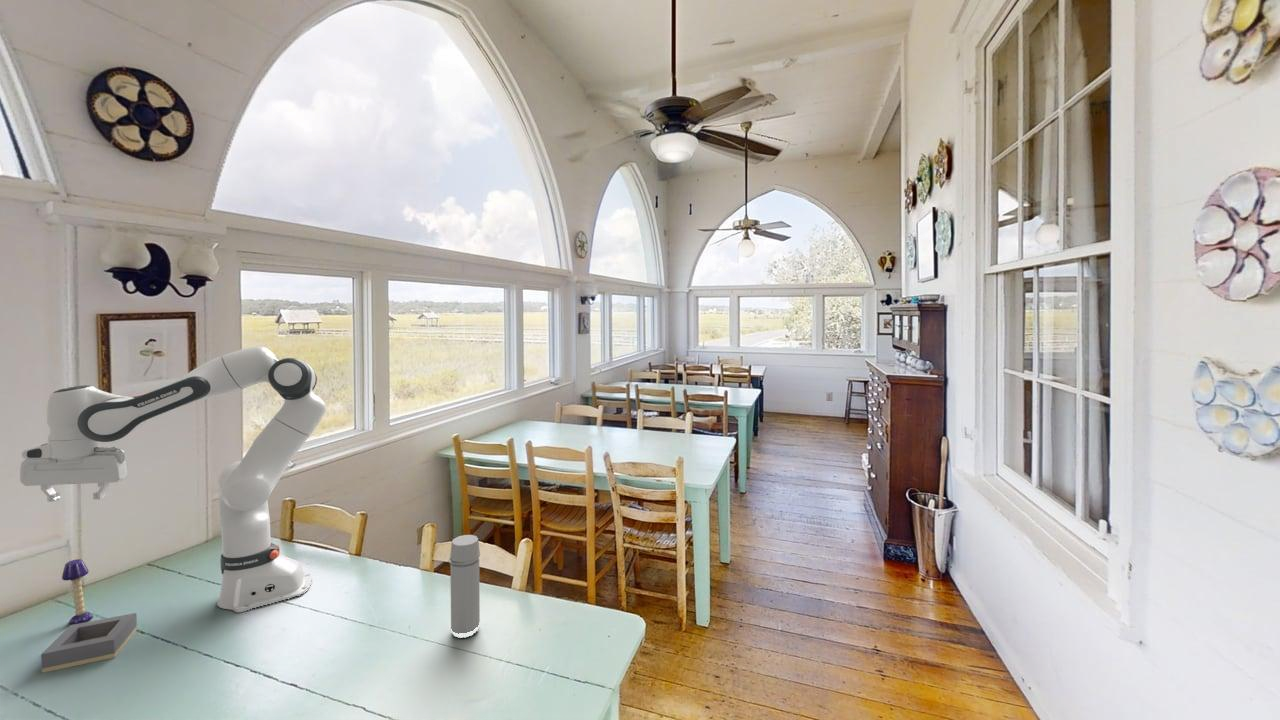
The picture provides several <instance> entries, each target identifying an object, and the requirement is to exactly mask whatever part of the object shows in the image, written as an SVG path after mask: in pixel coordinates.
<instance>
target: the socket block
mask: <svg viewBox="0 0 1280 720" xmlns="http://www.w3.org/2000/svg"><path fill="white" fill-rule="evenodd" d="M137 622H138V621H137V612H133V613H128V614H122V615H118V616H117V615H116V616H112V617H108V618H107V617H106V618H101V619H96V620H90V621H88V622H84V623H79V624H74V625H69V626H68V627H67V628H65V630H64V631H63V632H62V633H60V635H59V636H58V637H57V638H56V639H55V640H54V641H53V642H52V643H51V644H50V645H49V646H48V647H46V649H45V650H44V651H43V652H42V653H41V654H40V655H41V657H40V659H41V671H42V672H41V673H48V672H53V671H54V672H55V671H58V670H63V669H67V668H71V667H77V666H81V665H85V664H90V663H95V662H99V661H106V660H109V659H113V658H115V657H117V656H118V654H119V653H120V651H121V650H122V649H123V648H124V647H125V645H126V644H127V643H128V641H130V640H131V638H132V637H133V635H134V633H136V631H137V630H138V625H137V624H138V623H137Z"/></svg>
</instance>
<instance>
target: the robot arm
mask: <svg viewBox="0 0 1280 720" xmlns="http://www.w3.org/2000/svg"><path fill="white" fill-rule="evenodd" d="M317 379H318V378H317V375H316V372H315V371H314V368H312V367H311V365H310V364H308V363H307V362H305V361H303V360H302V359H299V358H296V357H286V358H285V357H284V358H281V359H278V358H277V356H276V355H275V353H274V352H272V351H271V350H270V349H269V348H267V347H265V346H261V345H257V346H256V345H255V346H252V347H247V348H242V349H238V350H235V351H231V352H229V353H226V354H222V355H220V356H218V357H214V358H212V359H211V360H208V361H205V362H204V363H201V364H200V365H199V366H197V367H195V368H194V369H193V370H191V371H189V372H188V373H186V374H185V375H183V376H182V377H180V378H178V379H177V380H175V381H173V382H171V383H170V384H167V385H165V386H163V387H162V386H161V387H160V388H158V389H155V390H153V391H152V390H151V391H150V392H146V393H144V394H141V395H139V396H135V397H131V396H126V395H121V394H115V393H111V392H109V391H108V392H107V391H105V390H101V389H99V388H97V387H96V386H93V385H89V384H88V385H86V384H85V385H76V386H70V387H66V388H61V389H58V390H55V391H54V392H52V393H50V395H49V396H48V402H47V406H46V407H47V408H46V410H47V411H46V422H47V426H48V427H49V434H48V436H47V443H44V444H41V445H38V446H35V447H31V448H27V449H25V450H23V451H22V452H21V457H22V458H23V461H22V462H21V463H20V469H19V470H20V472H19V479H20V483H21V484H22V485H23V486H25V487H31V486H32V487H34V486H35V487H36V486H40V490H41V491H42V492H43V493H44V495H45V496H46V497H47V498H46V499H47V502H48V503H50V502H57V501H60V499H61V493H60V492H56V490H55V489H54V487H55V486H57V485H59V486H60V485H81V484H83V485H84V484H85V485H86V484H97V488H99V489H98V491H96V492H94V493H92V495H93V497H92V499H93V500H95V501H96V500H103V499H105V497H106V491H107V490H108V489H109V487H110V486H111V484H112V483H113V484H114V483H117V482H121V481H123V480H125V479H126V478H127V477H128V467H127V462H126V452H125V451H124V450H123V449H121V448H119V447H117V446H111V447H108V446H107V447H106V446H105V447H101V444H100V443H108V442H109V443H110V442H115V441H118V440H121V439H122V438H125V437H126V436H127V435H129V433H131V432H133V431H134V430H136V429H138V428H139V427H140V426H141V427H142V425H143V424H144V423H145V422H146V421H147V420H150V419H152V418H155V417H157V416H159V415H163V414H165V413H167V412H170V411H172V410H174V409H178V408H180V407H182V406H185V405H189V404H192V403H197V402H201V401H206V400H210V399H216V398H219V397H223V396H227V395H230V394H231V395H232V394H233V393H236V392H239V391H242V390H244V389H247V388H249V387H251V386H255V385H257V384H261V383H268V384H270V386H271V387H272V388H273V390H275V392H277V393H278V394H279V396H280V397H282V399H283V400H284V402H283V405H282V406H281V408H280V409H279V410H278V411H277V413H276V414H275V415H274V416H273V417H272V419H271V420H270V421H269V422H268V423H267V425H265V427H264V428H263V429H262V431H260V433H259V434H258V435H257V437H255V438H254V439H253V442H252V444H251V446H250V447H249V449H248V450H247V452H246V454H245V455H244V457H243V458H242V459H241V460H237V461H233V462H231V463H230V464H229V465H227V466H226V467H225V468H224V469H223V470H221V473H220V474H219V476H218V478H217V485H218V486H217V489H218V501H219V517H220V528H221V545H222V546H221V547H222V549H221V550H222V553H221V554H220V558H219V563H220V565H219V567H220V571H221V572H220V573H221V575H222V577H221V587H220V592H219V597H218V599H217V602H216V605H217V607H219V609H220V608H221V609H225V610H231V611H233V612H235V613H243V612H247V610H248V611H251V610H253V609H252V608H255V609H257V608H256V607H259V606H262V607H264V606H263V605H266V604H270V605H272V604H271V603H273V604H275V603H274V602H277V603H279V602H278V601H281V600H284V601H286V600H285V599H288V598H292V597H295V596H299V595H301V594H303V593H304V592H305V591H306V590H307V589H308V588H309V587H310V588H311V586H312V584H311V581H312V582H313V577H312V575H311V573H310V572H307V571H306V572H304V571H303V567H302V565H301V563H300V562H299V561H298V560H296V559H294V558H290V557H287V556H285V555H283V554H280V551H281V549H280V543H279V542H277V544H275V543H272V542H271V541H272V540H271V518H270V512H269V510H270V509H269V504H268V503H269V502H268V500H269V497H270V495H271V494H272V491H273V490H274V488H275V487H276V485H277V484H278V483H279V481H280V479H281V477H282V476H283V474H284V472H285V471H286V469H287V467H288V466H289V464H290V463H291V461H292V460H293V458H294V456H295V455H296V454H297V453H299V452H298V451H299V450H300V449H301V447H303V445H304V444H305V443H306V441H307V440H308V439H309V438H310V436H312V434H313V433H314V431H315V430H316V428H317V427H318V425H319V424H320V422H321V420H322V418H323V416H324V414H326V413H325V412H326V410H327V405H326V403H325V401H324V400H323V399H322V398H321V397H319V396H318V395H317V394H315V393H314V391H313V390H314V389H315V388H316V386H317V382H318V381H317ZM306 576H308V577H306ZM310 585H311V586H310ZM310 588H309V589H310ZM304 594H305V593H304ZM304 594H303V595H304ZM301 596H302V595H301ZM299 597H300V596H299ZM295 598H296V597H295ZM292 599H293V598H292ZM288 600H289V599H288ZM281 602H282V601H281ZM266 606H267V605H266ZM259 608H260V607H259ZM250 609H251V610H250Z"/></svg>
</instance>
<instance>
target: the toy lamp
mask: <svg viewBox="0 0 1280 720" xmlns="http://www.w3.org/2000/svg"><path fill="white" fill-rule="evenodd" d="M62 571H63V572H62V574H61V575H62V576H61V580H63V581H70V582H71V588H72V591H71V592H72V599H73V604H74V610H75V611H74V614H75V615H74V616H72V617H71V618H70V620H69V622H68V625H69V626H70V625H74V624H79V623H84V622H90V621H92V619H93V617H94V616H93V614H92V613H91V612H88V611H87V612H86V608H85V598H84V597H83V596H84V592H83V587H82V585H83V582H82V581H81V580H82V578H83V577H85V576H86V575H88V574H89V569H88V567H87V565H86V564H85V562H84V561H83V559H81V558H77V559H73V560H69V561H68V562H66V563H65V565H64V567H63V570H62Z"/></svg>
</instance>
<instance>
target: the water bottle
mask: <svg viewBox="0 0 1280 720" xmlns="http://www.w3.org/2000/svg"><path fill="white" fill-rule="evenodd" d="M450 548H451V549H450V554H449V555H450V557H449V558H448V559H447V562H448V564H450V566H449V567H450V630H451V629H452V631H453V632H455V633H458V634H459V633H467V632H470V631H473V630H474V629H475V628H476V627H478V625H479V622H480V620H481V619H480V611H481V610H480V607H481V606H480V601H481V600H480V557H481V552H480V551H481V550H480V543H479V538H478V537H477V535H474V534H463V535H458V536H457V537H455V538H453V539H452V540H451V546H450Z"/></svg>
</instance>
